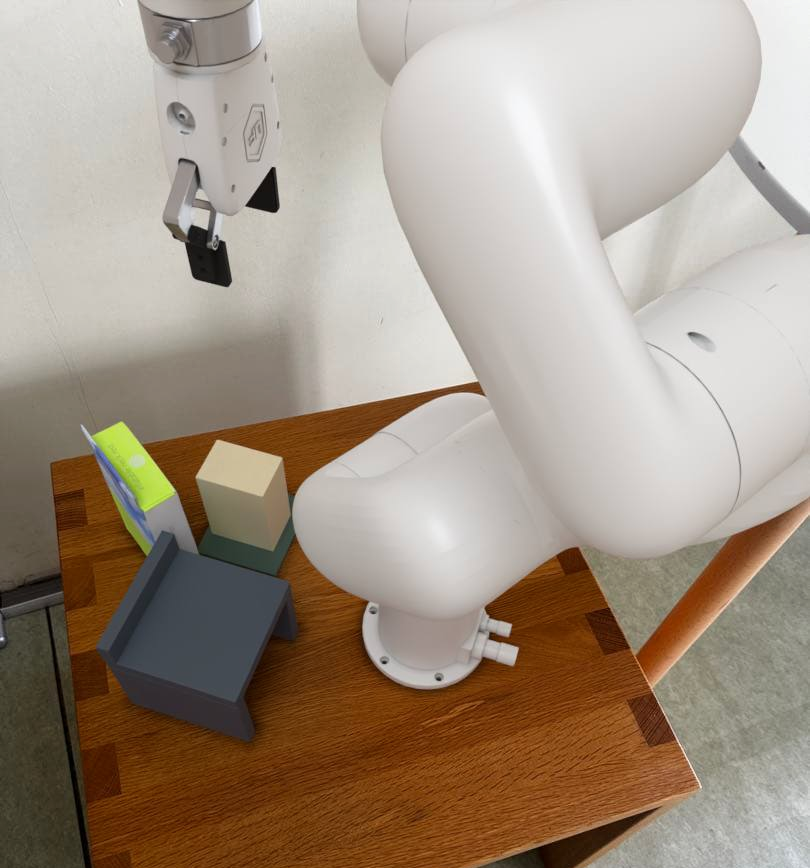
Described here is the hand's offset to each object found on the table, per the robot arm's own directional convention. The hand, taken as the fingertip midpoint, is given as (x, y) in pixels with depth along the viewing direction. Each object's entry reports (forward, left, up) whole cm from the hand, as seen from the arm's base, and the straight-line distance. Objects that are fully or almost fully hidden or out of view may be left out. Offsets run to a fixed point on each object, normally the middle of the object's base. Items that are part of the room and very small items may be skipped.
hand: (238, 243), depth 68 cm
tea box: (-1, +8, -30) cm, 31 cm away
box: (+6, +14, -31) cm, 34 cm away
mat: (-1, +8, -30) cm, 31 cm away
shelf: (-4, +24, -30) cm, 39 cm away
